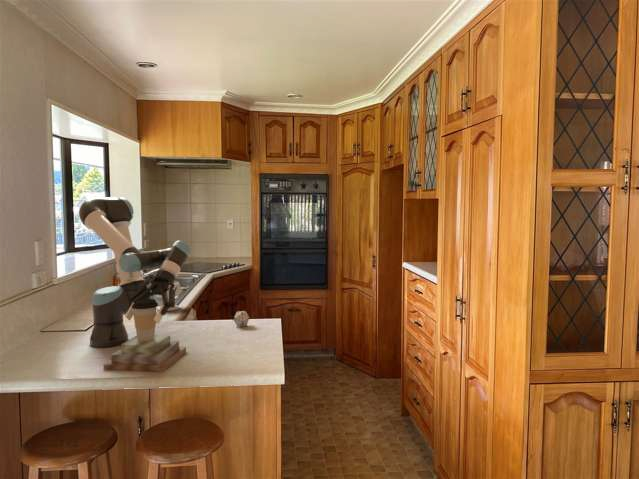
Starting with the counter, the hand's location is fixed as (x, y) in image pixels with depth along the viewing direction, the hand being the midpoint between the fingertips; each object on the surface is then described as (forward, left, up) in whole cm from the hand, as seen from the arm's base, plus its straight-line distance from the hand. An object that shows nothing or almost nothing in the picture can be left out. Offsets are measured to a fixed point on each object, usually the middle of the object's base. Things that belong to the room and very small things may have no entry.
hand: (141, 320), depth 174 cm
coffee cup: (0, +2, -8) cm, 9 cm away
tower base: (+1, +2, -16) cm, 16 cm away
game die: (+24, +52, -16) cm, 60 cm away
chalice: (-27, +83, -16) cm, 89 cm away
